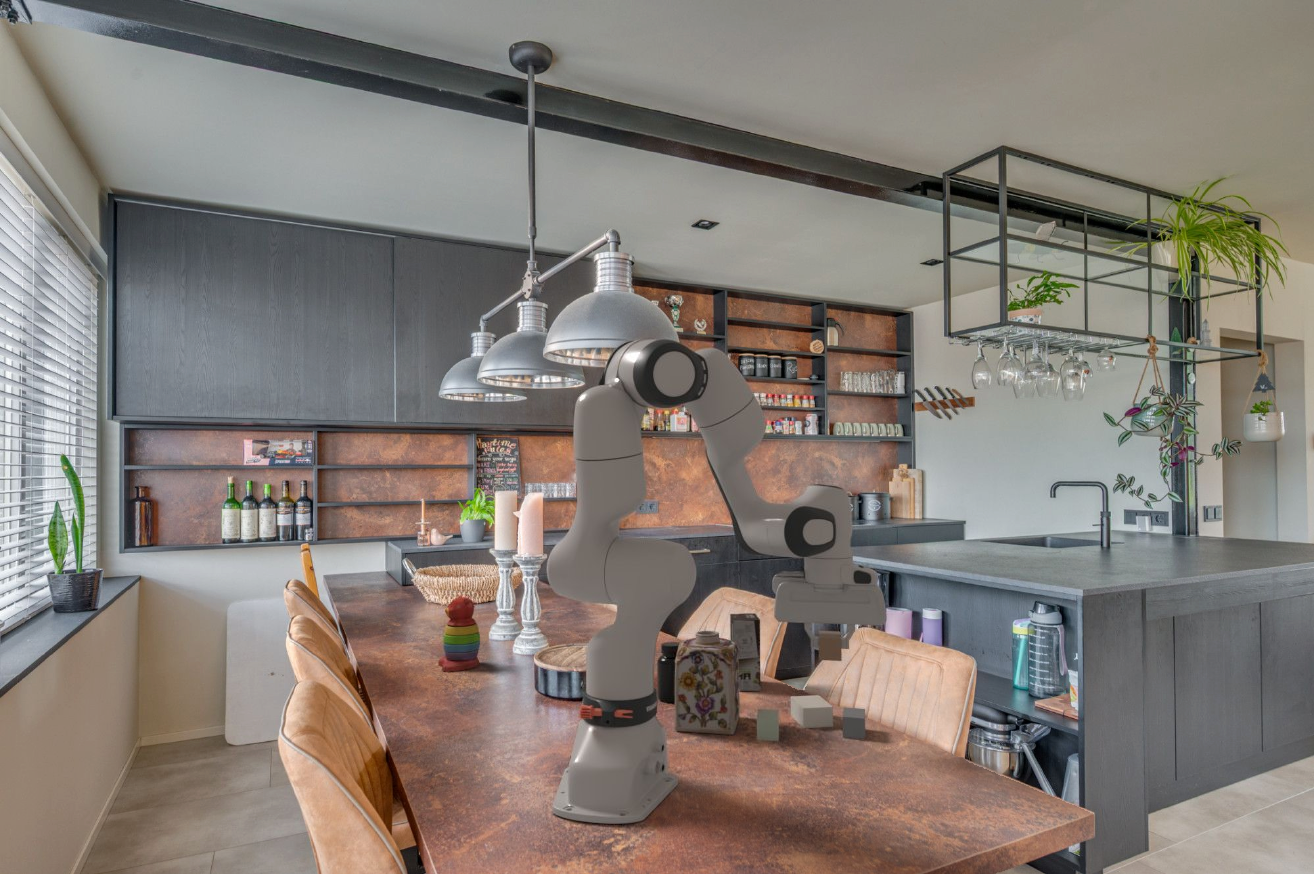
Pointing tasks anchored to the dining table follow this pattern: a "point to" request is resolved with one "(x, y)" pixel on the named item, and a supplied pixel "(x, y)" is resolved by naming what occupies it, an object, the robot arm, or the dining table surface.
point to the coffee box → (747, 649)
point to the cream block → (811, 711)
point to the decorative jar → (707, 685)
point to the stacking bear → (460, 637)
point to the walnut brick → (830, 645)
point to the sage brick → (768, 725)
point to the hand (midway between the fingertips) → (829, 647)
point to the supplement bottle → (667, 672)
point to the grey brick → (854, 723)
